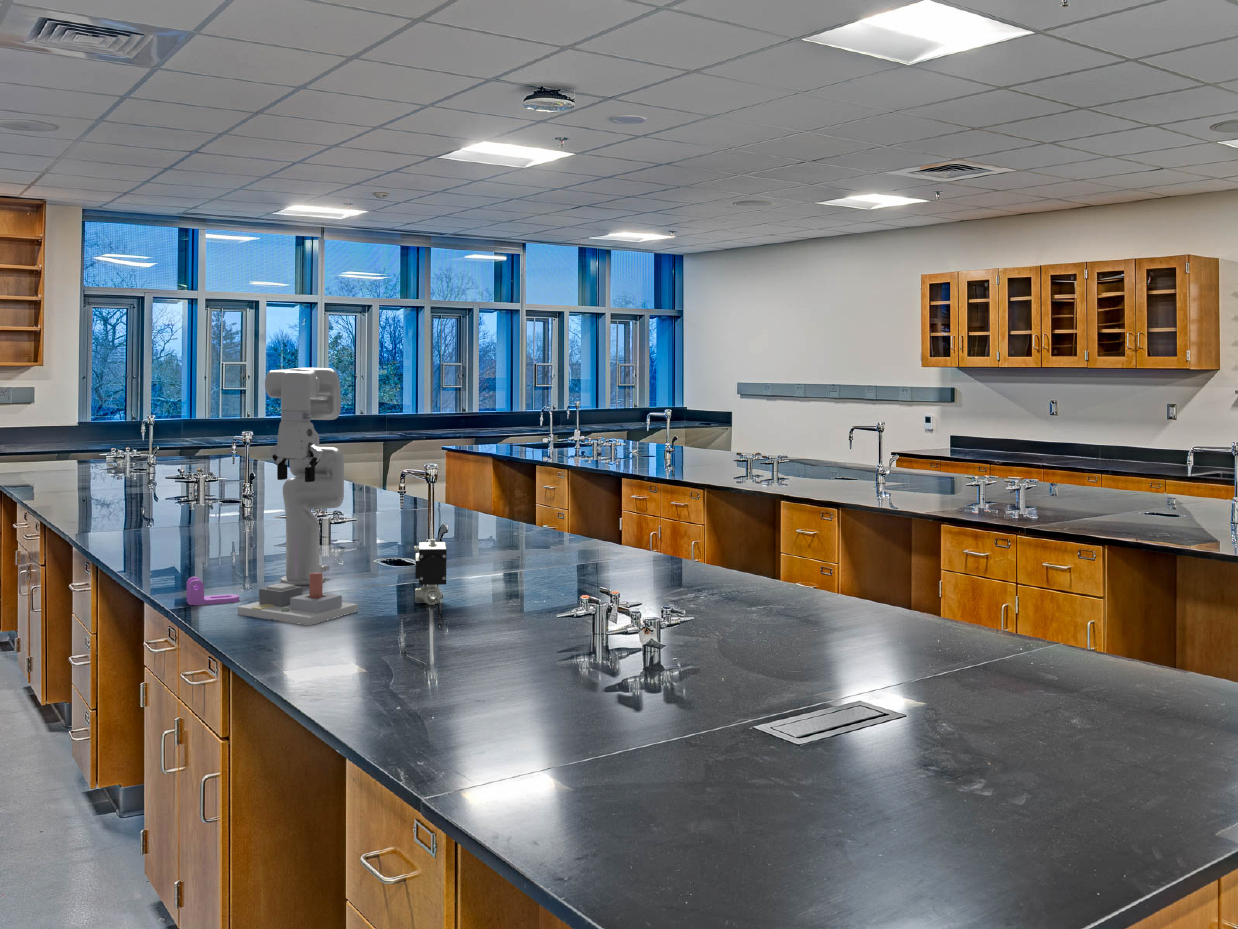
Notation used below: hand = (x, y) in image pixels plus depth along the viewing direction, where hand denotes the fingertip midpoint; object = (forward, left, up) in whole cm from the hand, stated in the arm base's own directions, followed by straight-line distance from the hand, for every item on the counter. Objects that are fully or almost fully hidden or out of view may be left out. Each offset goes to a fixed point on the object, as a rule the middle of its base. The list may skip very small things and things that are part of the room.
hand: (296, 480), depth 275 cm
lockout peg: (+10, +16, -31) cm, 37 cm away
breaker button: (+10, +4, -31) cm, 33 cm away
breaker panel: (+10, +10, -33) cm, 36 cm away
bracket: (+12, -18, -34) cm, 40 cm away
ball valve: (-17, +32, -34) cm, 49 cm away
